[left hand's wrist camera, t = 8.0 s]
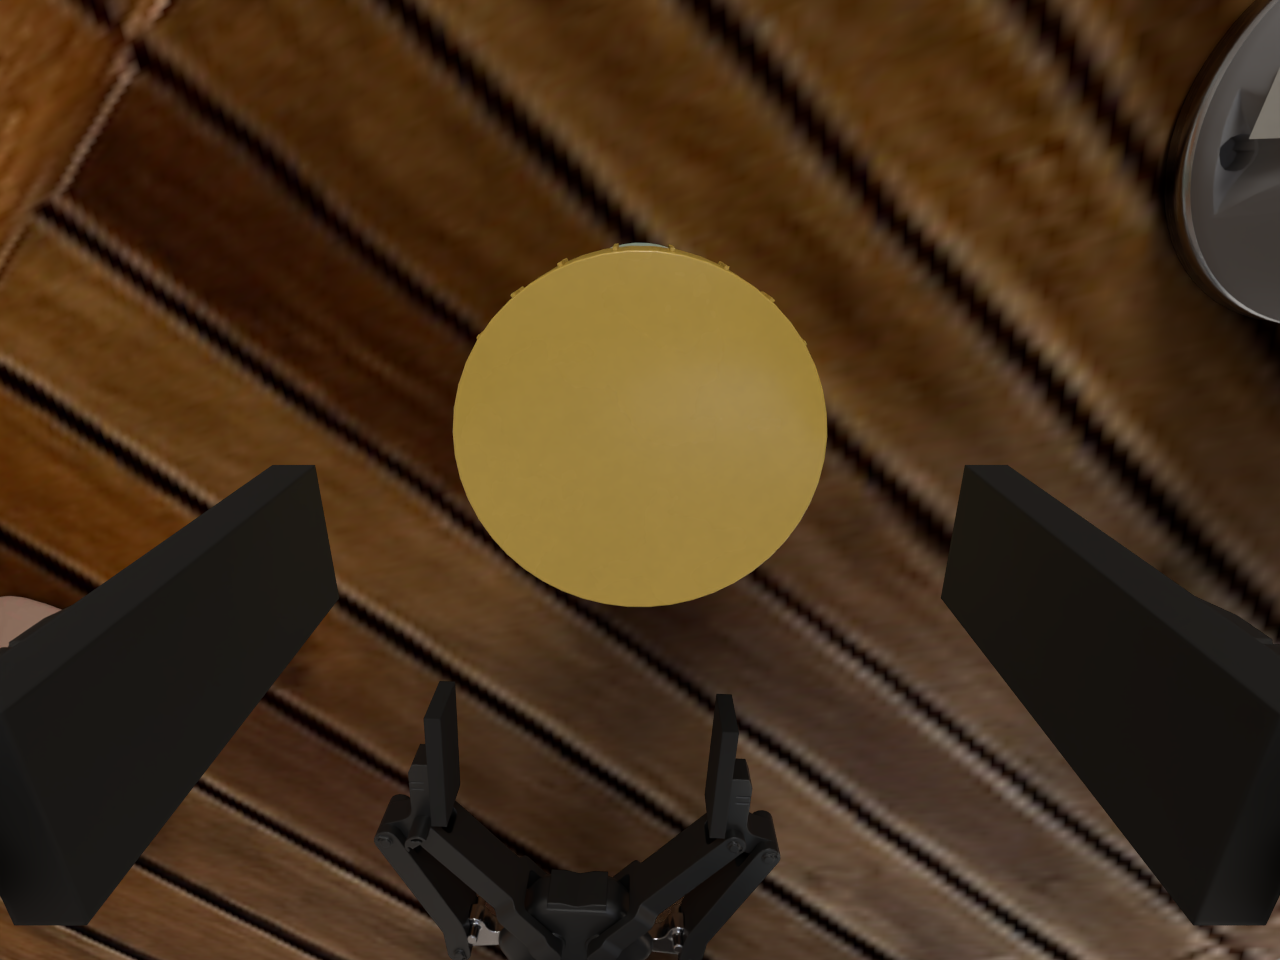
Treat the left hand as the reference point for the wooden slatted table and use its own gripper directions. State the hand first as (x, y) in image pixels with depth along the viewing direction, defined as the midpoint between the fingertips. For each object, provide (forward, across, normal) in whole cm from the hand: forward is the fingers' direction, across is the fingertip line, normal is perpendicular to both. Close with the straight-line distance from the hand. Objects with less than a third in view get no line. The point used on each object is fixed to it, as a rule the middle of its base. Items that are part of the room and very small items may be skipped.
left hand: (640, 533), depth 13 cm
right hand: (+15, +3, +16) cm, 22 cm away
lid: (+5, 0, 0) cm, 5 cm away
